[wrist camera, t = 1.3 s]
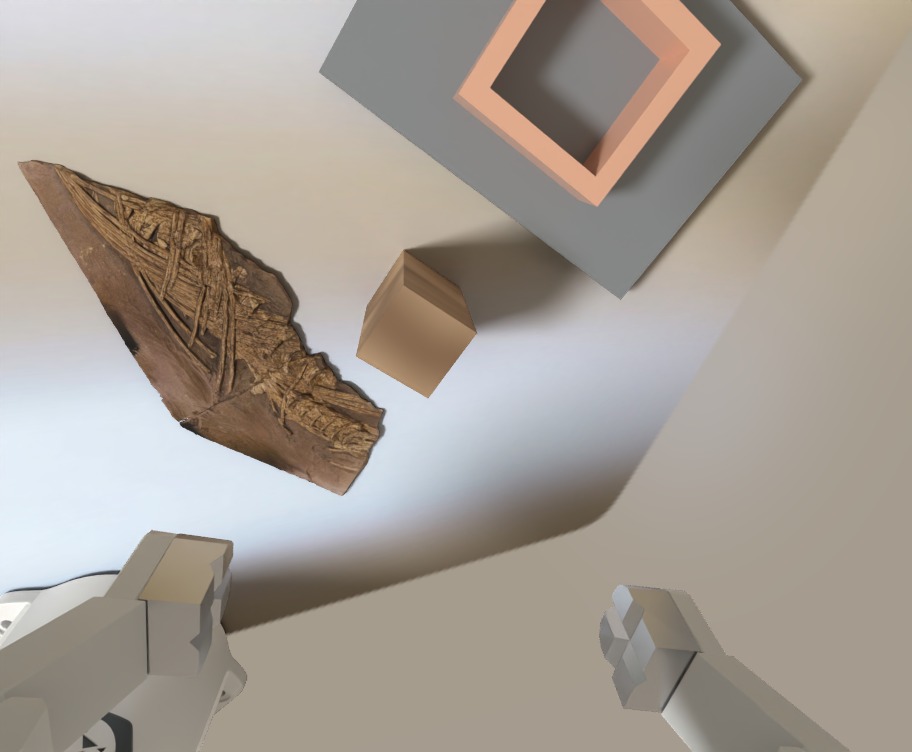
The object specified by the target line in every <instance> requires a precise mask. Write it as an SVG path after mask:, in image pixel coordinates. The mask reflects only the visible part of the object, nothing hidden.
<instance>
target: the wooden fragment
mask: <svg viewBox="0 0 912 752" xmlns="http://www.w3.org/2000/svg"><path fill="white" fill-rule="evenodd" d="M18 165H19V167H20V169H21V171H22V173H23V175H24V176H25V178H26V180H27V181H28V182H29V184H30V186H31V187H32V189H33V191H34V192H35V194H36V195H37V197H38V198H39V200H40V202H41V204H42V205H43V207H44V209H45V211H46V213H47V214H48V216H49V218H50V220H51V221H52V223H53V224H54V226H55V228H56V229H57V230H58V232H59V234H60V236H61V238H62V239H63V240H64V242H65V244H66V245H67V247H68V249H69V251H70V252H71V254H72V255H73V257H74V258H75V260H76V261H77V263H78V265H79V266H80V268H81V270H82V271H83V273H84V274H85V276H86V277H87V279H88V281H89V283H90V284H91V286H92V288H93V289H94V291H95V292H96V294H97V296H98V298H99V299H100V302H101V304H102V305H103V307H104V309H105V311H106V313H107V315H108V316H109V318H110V319H111V321H112V322H113V324H114V326H115V327H116V328H117V330H118V332H119V334H120V335H121V337H122V339H123V340H124V342H125V345H126V346H127V347H128V349H129V350H130V352H131V353H132V355H133V357H134V358H135V359H136V361H137V363H138V364H139V366H140V367H141V368H142V370H143V372H144V373H145V374H146V376H147V378H148V379H149V381H150V383H151V385H152V386H153V387H154V388H155V389H156V390H157V391H158V393H160V397H162V398H163V399H162V402H163V403H164V404H165V406H166V407H167V409H168V410H169V411H170V413H171V415H172V416H173V417H174V418H175V419H176V420H177V421H178V422H179V421H181V420H182V421H183V420H185V419H187V418H189V419H188V420H186V421H183V422H180V425H181V426H182V427H183V428H185V429H187V430H189V431H191V432H194V433H195V434H196V435H197V434H198V435H200V436H201V437H203V438H206V439H208V440H210V441H213V442H216V443H218V444H221V445H223V446H225V447H227V448H230V449H232V450H235V451H237V452H240V453H243V454H244V455H247V456H250V457H252V458H254V459H257V460H259V461H261V462H264V463H267V464H269V465H271V466H274V467H276V468H278V469H280V470H284V471H286V472H288V473H290V474H293V475H296V476H299V478H302V479H306V480H308V481H309V482H312V483H315V484H316V485H318V486H320V487H322V488H325V489H327V490H330V491H331V492H333V493H336V494H338V495H341V496H342V495H344V494H345V492H346V490H347V489H348V487H349V486H350V484H351V483H352V482H353V480H354V479H355V478H356V476H357V475H358V474H359V473H360V472H361V471H362V470H363V469H364V467H365V466H366V465H367V463H368V459H369V453H368V451H369V449H370V448H371V447H372V445H373V444H374V442H375V441H376V440H377V439H378V437H379V429H378V425H377V424H378V422H379V419H380V417H381V414H382V412H383V410H382V409H380V408H376V407H375V406H373V404H372V403H371V402H369V401H366V400H365V399H362V398H361V397H360V396H359V394H358V393H357V392H356V391H355V390H354V389H353V388H352V387H349V386H348V385H346V384H344V383H343V382H340V381H339V380H337V377H335V376H334V375H333V372H332V369H330V368H329V367H328V366H327V365H326V363H325V361H324V359H323V357H322V355H321V354H320V353H318V354H313V355H308V354H307V353H306V352H305V349H304V347H303V345H302V344H301V340H300V338H299V336H298V334H297V333H296V332H295V330H294V328H293V326H292V325H290V324H289V322H290V318H291V316H290V315H291V307H292V302H291V300H290V298H289V296H288V294H287V292H286V291H285V289H284V288H283V286H282V285H281V284H280V282H279V281H278V280H277V278H276V276H275V275H274V274H272V273H268V272H265V271H263V270H261V268H260V267H258V266H257V265H256V264H255V263H254V262H252V261H251V260H249V259H247V258H245V257H244V256H243V255H242V254H241V253H238V252H237V251H236V250H234V249H233V248H232V246H231V245H230V244H229V243H228V242H227V241H226V240H225V239H224V238H222V236H221V235H220V234H219V233H218V231H217V226H216V223H215V221H214V220H213V219H212V218H209V217H206V216H202V215H201V214H199V213H198V212H197V211H195V210H192V209H183V208H178V207H176V206H174V205H172V204H170V203H168V202H165V201H160V200H158V199H155V198H152V197H150V199H144V198H142V197H140V196H139V195H136V194H133V193H129V192H126V191H124V190H118V189H116V188H111V187H108V186H103V185H100V184H97V183H95V182H92V181H85V180H82V179H80V178H79V177H78V176H77V175H76V174H75V172H73V171H70V170H68V169H66V168H65V167H63V166H61V165H58V164H51V163H46V162H41V161H35V160H31V161H28V162H18Z"/></svg>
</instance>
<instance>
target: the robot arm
mask: <svg viewBox="0 0 912 752" xmlns="http://www.w3.org/2000/svg"><path fill="white" fill-rule="evenodd" d="M232 557H233V542H232V541H230V540H223V539H215V538H208V537H201V536H193V535H186V534H174V533H167V532H160V531H153V530H151V531H150V532H149V533H147V534H146V535H145V536H144V537H143V539H142V540H141V542H140V543H139V544H138V546H137V547H136V549H135V550H134V552H133V553H132V555H131V556H130V558H129V559H128V561H127V562H126V564H125V565H124V567H123V568H122V569H121V571H120V572H119V574H118V575H115V574H112V575H95V576H88V577H83V578H79V579H75V580H72V581H69V582H66V583H63V584H61V585H58V586H55V587H53V588H49V589H45V590H32V591H15V592H8V593H5V594H3V595H1V596H0V752H200V749H201V747H202V744H203V741H204V739H205V736H206V734H207V731H208V728H209V725H210V723H211V720H212V717H213V715H214V714H215V713H217V712H218V711H219V710H220V709H221V708H223V707H224V706H225V705H226V704H228V703H229V702H230V701H231V700H233V699H234V698H235V697H236V696H237V695H239V694H240V693H241V692H242V690H243V688H244V685H245V683H246V680H247V674H246V672H245V671H244V669H243V668H242V667H241V666H240V665H239V663H238V662H237V661H236V660H235V659H234V658H233V657H232V655H231V653H230V650H229V647H228V642H227V637H226V634H225V632H224V629H223V627H222V625H221V624H220V622H221V619H222V616H223V614H224V611H225V608H226V604H227V601H228V597H229V593H230V587H231V579H232V573H231V571H230V570H229V569H228V567H229V564H230V562H231V559H232ZM612 599H613V602H614V606H613V607H611V608H610V609H608V610H607V611H605V613H604V615H603V618H602V620H601V623H600V634H599V635H600V636H599V637H600V644H601V648H602V651H603V654H604V657H605V658H606V660H607V661H608V662H609V663H610V664H611V665H612V666H613V667H614V668H615V671H614V674H613V676H612V679H613V682H614V684H615V687H616V690H617V692H618V695H619V698H620V700H621V703H622V706H623V708H624V709H632V710H642V711H651V712H661V713H662V716H663V717H664V718H665V719H666V721H667V722H668V723H669V724H670V726H671V727H672V728H673V729H674V730H675V731H676V733H677V734H678V735H679V736H680V737H681V739H682V740H683V741H684V742H685V743H686V745H687V746H688V747H689V748H690V749H691V750H692V752H850V751H849V749H847V748H846V747H845V746H844V745H842V744H841V743H840V742H839V741H838V740H836V739H835V738H834V737H833V736H831V735H830V734H829V733H828V732H826V731H825V730H824V729H822V728H821V727H820V726H819V725H818V724H816V723H815V722H814V721H813V720H811V719H810V718H809V717H808V716H807V715H805V714H804V713H803V712H802V711H800V710H799V709H798V708H797V707H795V706H794V705H793V704H792V703H791V702H789V701H788V700H787V699H786V698H784V697H783V696H782V695H781V694H779V693H778V692H777V691H776V690H774V689H773V688H772V687H771V686H769V685H768V684H767V683H766V682H765V681H763V680H762V679H761V678H760V677H758V676H757V675H756V674H754V673H753V672H752V671H751V670H750V669H748V668H747V667H746V666H745V665H743V664H742V663H741V662H740V661H739V660H737V659H736V658H735V657H733V656H728V655H726V654H725V652H724V650H723V649H722V647H721V645H720V644H719V642H718V640H717V639H716V637H715V636H714V634H713V632H712V631H711V629H710V627H709V626H708V624H707V622H706V621H705V619H704V618H703V616H702V614H701V612H700V611H699V609H698V607H697V606H696V604H695V603H694V601H693V599H692V598H691V596H690V595H689V594H688V593H687V592H685V591H681V590H671V589H660V588H650V587H640V586H631V585H619V586H618V587H617V588H616V589H615V591H614V593H613V595H612Z"/></svg>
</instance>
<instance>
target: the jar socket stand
mask: <svg viewBox="0 0 912 752" xmlns="http://www.w3.org/2000/svg"><path fill="white" fill-rule="evenodd" d="M319 73H321V74H322V75H323V76H325V77H326V78H327V79H329V80H330V81H331V82H332V83H334V84H335V85H336V86H338V87H339V88H340V89H342V90H343V91H344V92H346V93H347V94H348V95H350V96H351V97H352V98H354V99H355V100H356V101H358V102H359V103H360V104H362V105H363V106H364V107H366V108H367V109H368V110H370V111H371V112H372V113H374V114H375V115H376V116H378V117H379V118H380V119H382V120H383V121H384V122H386V123H387V124H388V125H390V126H391V127H392V128H393V129H395V130H396V131H397V132H399V133H400V134H401V135H403V136H404V137H405V138H407V139H408V140H409V141H411V142H412V143H413V144H415V145H416V146H417V147H419V148H420V149H421V150H423V151H424V152H425V153H427V154H428V155H429V156H431V157H432V158H433V159H435V160H436V161H437V162H439V163H440V164H441V165H443V166H444V167H445V168H447V169H448V170H449V171H451V172H452V173H453V174H455V175H456V176H457V177H458V178H460V179H461V180H462V181H464V182H465V183H466V184H468V185H469V186H470V187H472V188H473V189H474V190H476V191H477V192H478V193H480V194H481V195H482V196H484V197H485V198H486V199H488V200H489V201H490V202H492V203H493V204H494V205H496V206H497V207H498V208H500V209H501V210H502V211H504V212H505V213H506V214H508V215H509V216H510V217H512V218H513V219H514V220H516V221H517V222H518V223H519V224H521V225H522V226H523V227H525V228H526V229H527V230H529V231H530V232H531V233H533V234H534V235H535V236H537V237H538V238H539V239H541V240H542V241H543V242H545V243H546V244H547V245H549V246H550V247H551V248H553V249H554V250H555V251H557V252H558V253H559V254H561V255H562V256H563V257H565V258H566V259H567V260H569V261H570V262H571V263H573V264H574V265H575V266H577V267H578V268H579V269H580V270H582V271H583V272H584V273H586V274H587V275H588V276H590V277H591V278H592V279H594V280H595V281H596V282H598V283H599V284H600V285H602V286H603V287H604V288H606V289H607V290H608V291H610V292H611V293H612V294H614V295H615V296H616V297H618V298H619V299H620V300H621V299H622V298H623V296H624V295H625V294H626V293H627V292H628V290H629V289H630V288H631V287H632V286H633V284H634V283H635V282H636V281H637V279H638V278H639V277H640V276H641V275H642V273H643V272H644V271H645V270H646V269H647V267H648V266H649V265H650V264H651V263H652V261H653V260H654V259H655V258H656V257H657V255H658V254H659V253H660V252H661V250H662V249H663V248H664V247H665V246H666V244H667V243H668V242H669V241H670V240H671V238H672V237H673V236H674V235H675V234H676V232H677V231H678V230H679V229H680V227H681V226H682V225H683V224H684V223H685V221H686V220H687V219H688V218H689V217H690V215H691V214H692V213H693V212H694V211H695V209H696V208H697V207H698V206H699V204H700V203H701V202H702V201H703V200H704V198H705V197H706V196H707V195H708V194H709V192H710V191H711V190H712V189H713V188H714V186H715V185H716V184H717V183H718V181H719V180H720V179H721V178H722V177H723V175H724V174H725V173H726V172H727V171H728V169H729V168H730V167H731V166H732V165H733V163H734V162H735V161H736V160H737V158H738V157H739V156H740V155H741V154H742V152H743V151H744V150H745V149H746V148H747V146H748V145H749V144H750V143H751V142H752V140H753V139H754V138H755V137H756V136H757V134H758V133H759V132H760V131H761V129H762V128H763V127H764V126H765V125H766V123H767V122H768V121H769V120H770V119H771V117H772V116H773V115H774V114H775V113H776V111H777V110H778V109H779V108H780V106H781V105H782V104H783V103H784V102H785V100H786V99H787V98H788V97H789V96H790V94H791V93H792V92H793V91H794V90H795V88H796V87H797V86H798V85H799V83H800V82H801V81H802V79H801V78H800V77H799V76H798V75H797V74H796V72H795V71H794V70H793V69H792V68H791V67H790V66H789V65H788V64H787V63H786V61H785V60H784V59H783V58H782V57H781V56H780V55H779V54H778V53H777V52H776V50H775V49H774V48H773V47H772V46H771V45H770V44H769V43H768V42H767V41H766V39H765V38H764V37H763V36H762V35H761V34H760V33H759V32H758V31H757V30H756V28H755V27H754V26H753V25H752V24H751V23H750V22H749V21H748V20H747V19H746V17H745V16H744V15H743V14H742V13H741V12H740V11H739V10H738V9H737V8H736V6H735V5H734V4H733V3H732V2H731V1H730V0H357V2H356V3H355V5H354V7H353V9H352V11H351V13H350V15H349V17H348V18H347V20H346V22H345V24H344V26H343V28H342V30H341V31H340V33H339V35H338V37H337V39H336V41H335V43H334V45H333V46H332V48H331V50H330V52H329V54H328V56H327V58H326V60H325V61H324V63H323V65H322V67H321V69H320V71H319Z"/></svg>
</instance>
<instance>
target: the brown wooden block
mask: <svg viewBox="0 0 912 752" xmlns="http://www.w3.org/2000/svg"><path fill="white" fill-rule="evenodd" d="M476 333H477V332H476V330H475V327H474V324H473V322H472V319H471V316H470V314H469V311H468V308H467V306H466V303H465V300H464V298H463V295H462V292H461V290H460V288H459V287H458V286H456V285H455V284H453V283H452V282H450V281H449V280H448V279H446V278H445V277H443V276H442V275H440V274H439V273H437V272H436V271H434V270H433V269H431V268H430V267H428V266H427V265H425V264H424V263H422V262H421V261H419V260H418V259H416V258H415V257H413V256H412V255H410V254H409V253H407V252H406V251H405V250H403V251H402V253H401V255H400V256H399V258H398V259H397V261H396V262H395V264H394V265H393V267H392V268H391V270H390V271H389V273H388V274H387V276H386V277H385V279H384V280H383V282H382V284H381V285H380V287H379V288H378V290H377V291H376V293H375V294H374V296H373V297H372V299H371V300H370V302H369V303H368V305H367V308H366V313H365V317H364V322H363V326H362V331H361V336H360V340H359V345H358V349H357V354H356V357H358V358H360V359H361V360H363V361H365V362H366V363H368V364H370V365H372V366H373V367H375V368H377V369H379V370H380V371H382V372H384V373H385V374H387V375H389V376H391V377H392V378H394V379H396V380H397V381H399V382H401V383H403V384H404V385H406V386H408V387H409V388H411V389H413V390H415V391H416V392H418V393H420V394H422V395H423V396H425V397H427V398H429V397H430V395H431V394H432V393H433V391H434V390H435V389H436V387H437V386H438V384H439V383H440V382H441V380H442V379H443V378H444V376H445V375H446V374H447V372H448V371H449V370H450V368H451V367H452V366H453V364H454V363H455V362H456V360H457V359H458V358H459V356H460V355H461V354H462V352H463V351H464V350H465V348H466V347H467V346H468V344H469V343H470V342H471V340H472V339H473V337H474V336H475V335H476Z"/></svg>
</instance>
